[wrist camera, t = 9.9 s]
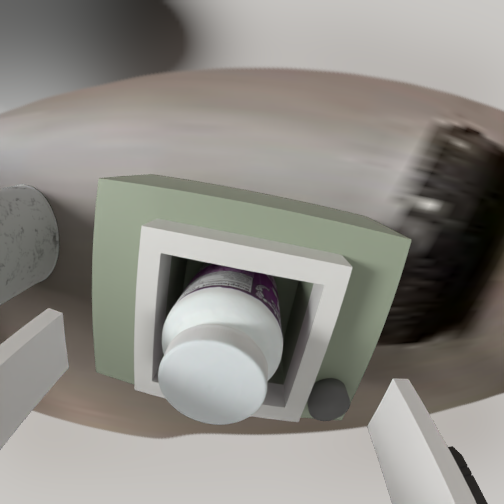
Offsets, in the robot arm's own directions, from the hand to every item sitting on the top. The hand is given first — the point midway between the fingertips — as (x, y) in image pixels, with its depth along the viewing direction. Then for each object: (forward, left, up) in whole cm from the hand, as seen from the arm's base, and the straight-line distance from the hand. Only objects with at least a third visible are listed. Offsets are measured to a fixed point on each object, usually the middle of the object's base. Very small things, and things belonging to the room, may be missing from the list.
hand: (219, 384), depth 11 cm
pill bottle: (0, 0, -9) cm, 9 cm away
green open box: (0, 0, -13) cm, 13 cm away
